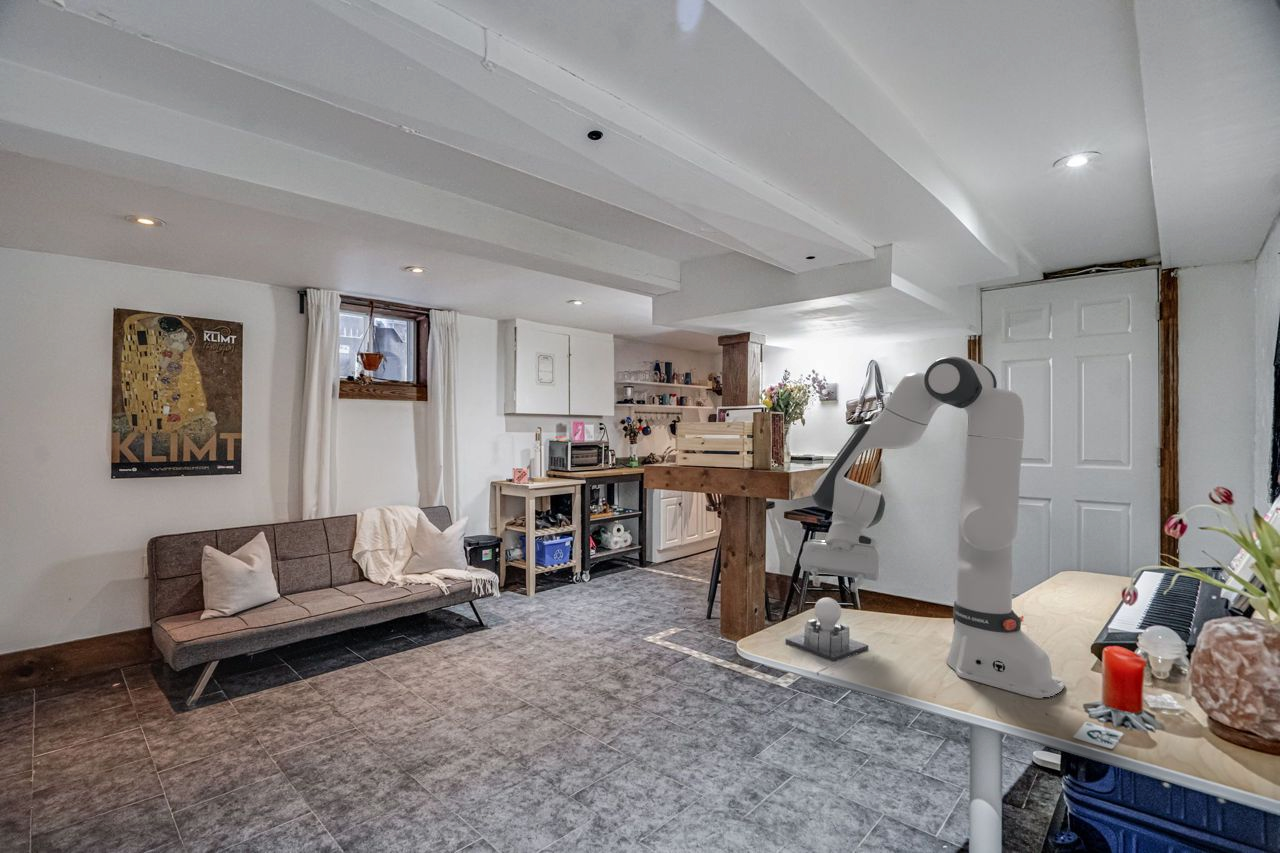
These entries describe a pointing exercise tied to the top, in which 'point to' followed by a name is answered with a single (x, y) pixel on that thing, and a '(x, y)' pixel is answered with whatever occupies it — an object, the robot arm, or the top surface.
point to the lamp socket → (827, 641)
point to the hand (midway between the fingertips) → (834, 587)
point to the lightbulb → (827, 613)
